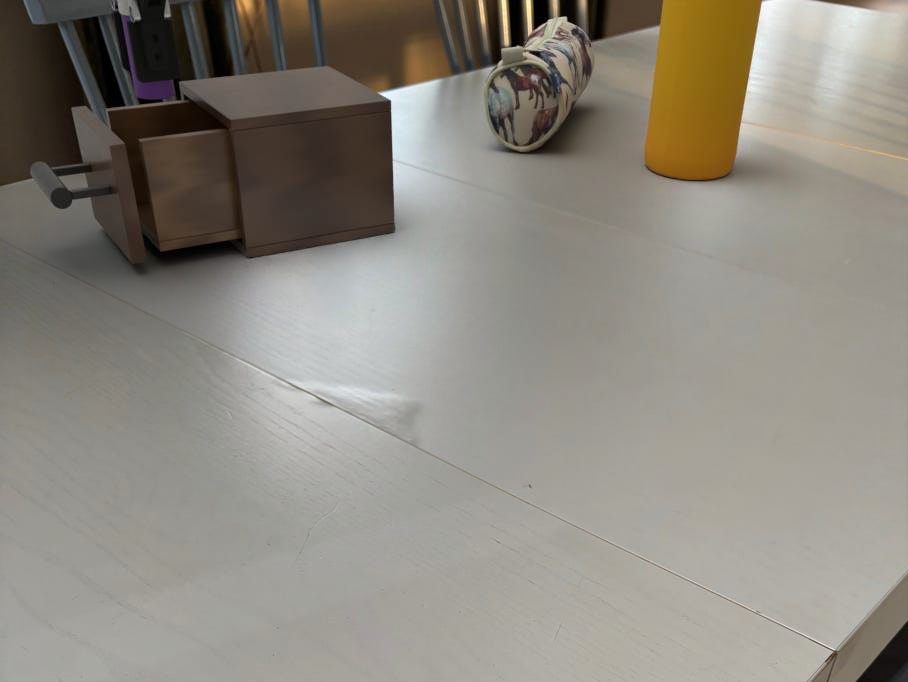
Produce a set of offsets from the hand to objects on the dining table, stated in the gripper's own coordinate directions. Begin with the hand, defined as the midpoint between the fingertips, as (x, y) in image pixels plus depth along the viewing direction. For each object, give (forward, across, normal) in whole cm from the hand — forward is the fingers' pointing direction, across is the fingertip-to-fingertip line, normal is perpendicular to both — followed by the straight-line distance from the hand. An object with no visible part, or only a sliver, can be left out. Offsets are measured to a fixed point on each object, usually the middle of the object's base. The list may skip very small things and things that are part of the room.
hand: (150, 71), depth 80 cm
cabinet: (+13, 0, +11) cm, 17 cm away
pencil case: (+13, -16, +47) cm, 51 cm away
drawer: (+12, 0, -1) cm, 12 cm away
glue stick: (+2, 0, 0) cm, 2 cm away
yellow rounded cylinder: (+13, +3, +53) cm, 54 cm away
